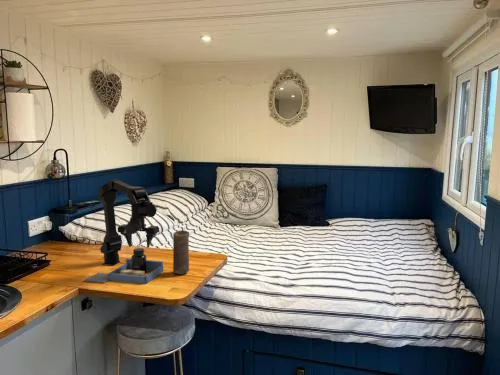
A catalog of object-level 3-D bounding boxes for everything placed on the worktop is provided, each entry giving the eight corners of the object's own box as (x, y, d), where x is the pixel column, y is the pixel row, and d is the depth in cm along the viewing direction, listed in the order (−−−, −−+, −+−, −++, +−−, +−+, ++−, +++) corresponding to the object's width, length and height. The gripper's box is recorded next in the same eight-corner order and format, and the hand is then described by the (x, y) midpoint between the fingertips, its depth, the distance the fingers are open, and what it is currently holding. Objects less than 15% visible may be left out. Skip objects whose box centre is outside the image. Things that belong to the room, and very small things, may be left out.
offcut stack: (116, 279, 173) (116, 271, 173) (120, 277, 176) (120, 269, 175) (142, 282, 170) (142, 273, 169) (145, 279, 173) (145, 271, 172)
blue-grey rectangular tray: (107, 280, 171) (107, 269, 171) (127, 268, 187) (127, 258, 187) (146, 283, 167) (145, 272, 166) (163, 271, 183) (163, 261, 182)
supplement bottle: (133, 277, 175) (132, 252, 173) (130, 272, 181) (129, 248, 179) (148, 274, 178) (147, 250, 177) (145, 270, 184) (144, 246, 183)
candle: (192, 271, 182) (191, 230, 180) (184, 276, 176) (183, 234, 173) (178, 269, 185) (177, 229, 182) (170, 274, 178) (169, 233, 176)
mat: (84, 281, 170) (84, 280, 170) (98, 273, 180) (98, 272, 180) (103, 283, 168) (103, 282, 168) (117, 275, 177) (116, 274, 177)
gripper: (110, 217, 170) (111, 250, 172) (148, 219, 166) (149, 253, 168) (123, 212, 181) (124, 244, 183) (159, 214, 177) (160, 246, 179)
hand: (139, 247), depth 178 cm, fingers open, 9 cm apart
